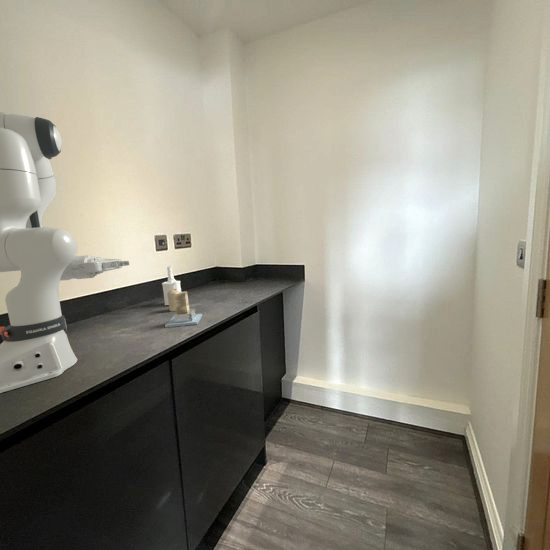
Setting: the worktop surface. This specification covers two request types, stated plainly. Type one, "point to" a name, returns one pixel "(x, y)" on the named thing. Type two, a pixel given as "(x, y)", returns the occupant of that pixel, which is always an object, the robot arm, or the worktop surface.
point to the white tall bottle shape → (170, 285)
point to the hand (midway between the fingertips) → (123, 263)
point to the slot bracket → (185, 316)
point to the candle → (172, 299)
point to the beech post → (182, 302)
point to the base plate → (193, 322)
